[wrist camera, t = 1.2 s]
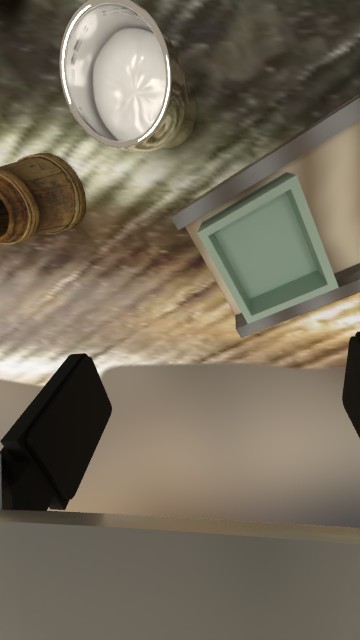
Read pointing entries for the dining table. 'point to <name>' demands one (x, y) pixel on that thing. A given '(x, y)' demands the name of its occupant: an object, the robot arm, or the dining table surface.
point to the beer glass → (125, 78)
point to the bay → (320, 193)
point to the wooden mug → (38, 198)
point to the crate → (269, 249)
